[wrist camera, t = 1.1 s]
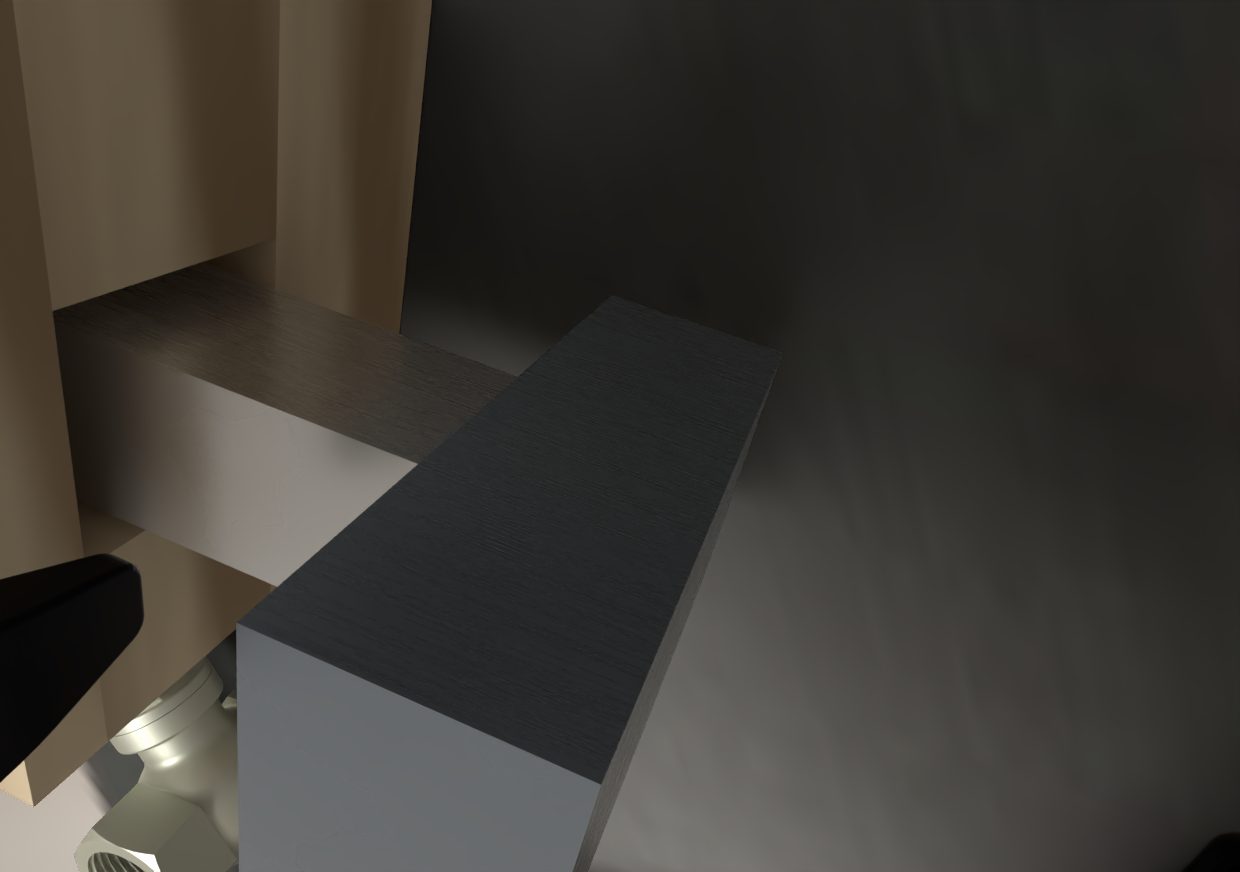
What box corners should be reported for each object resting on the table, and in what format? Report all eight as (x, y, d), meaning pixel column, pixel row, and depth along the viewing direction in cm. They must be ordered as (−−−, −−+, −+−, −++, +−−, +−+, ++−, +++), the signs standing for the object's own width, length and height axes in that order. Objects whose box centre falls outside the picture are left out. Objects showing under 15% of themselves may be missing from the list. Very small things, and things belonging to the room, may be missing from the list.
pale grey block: (782, 352, 13) (601, 784, 6) (700, 585, 16) (496, 1103, 8) (-48, 72, 16) (-908, 114, 9) (-9, 306, 19) (-651, 500, 11)
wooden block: (432, -11, 16) (-144, -54, 7) (383, 498, 22) (33, 807, 13) (252, -62, 16) (-470, -156, 8) (252, 446, 22) (-162, 707, 14)
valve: (401, 750, 26) (201, 412, 23) (258, 949, 21) (-38, 540, 17) (256, 762, 29) (58, 463, 25) (96, 940, 23) (-187, 587, 20)
